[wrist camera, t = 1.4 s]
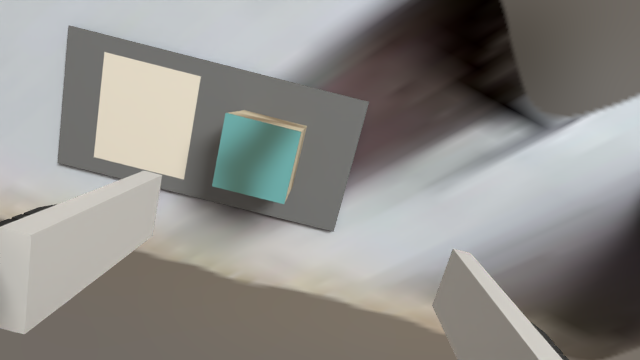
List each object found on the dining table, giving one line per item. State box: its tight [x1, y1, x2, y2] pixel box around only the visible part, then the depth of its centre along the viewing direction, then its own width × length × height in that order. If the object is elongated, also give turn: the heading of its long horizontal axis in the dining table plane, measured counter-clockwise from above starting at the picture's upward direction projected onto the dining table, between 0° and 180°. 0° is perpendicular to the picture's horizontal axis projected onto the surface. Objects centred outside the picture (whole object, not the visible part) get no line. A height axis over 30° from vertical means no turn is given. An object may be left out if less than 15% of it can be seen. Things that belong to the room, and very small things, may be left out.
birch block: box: [212, 110, 307, 204], centre depth 32 cm, size 6×6×6 cm
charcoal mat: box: [58, 26, 369, 232], centre depth 35 cm, size 28×13×1 cm, turn 76°
